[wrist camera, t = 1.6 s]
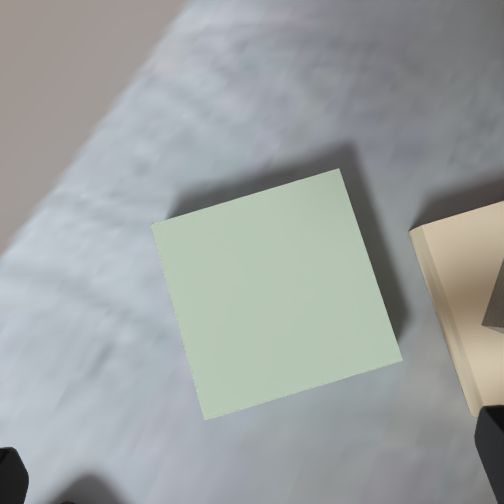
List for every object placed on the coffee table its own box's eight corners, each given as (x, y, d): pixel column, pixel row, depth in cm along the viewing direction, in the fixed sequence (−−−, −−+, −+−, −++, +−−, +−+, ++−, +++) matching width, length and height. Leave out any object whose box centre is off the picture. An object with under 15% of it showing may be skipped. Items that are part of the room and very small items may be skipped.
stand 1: (390, 355, 23) (402, 360, 21) (209, 410, 23) (204, 420, 21) (333, 178, 24) (339, 168, 22) (159, 230, 24) (150, 224, 22)
